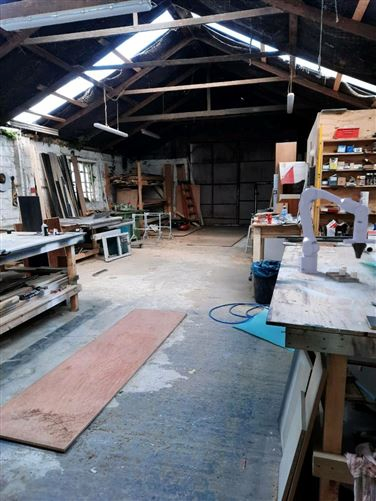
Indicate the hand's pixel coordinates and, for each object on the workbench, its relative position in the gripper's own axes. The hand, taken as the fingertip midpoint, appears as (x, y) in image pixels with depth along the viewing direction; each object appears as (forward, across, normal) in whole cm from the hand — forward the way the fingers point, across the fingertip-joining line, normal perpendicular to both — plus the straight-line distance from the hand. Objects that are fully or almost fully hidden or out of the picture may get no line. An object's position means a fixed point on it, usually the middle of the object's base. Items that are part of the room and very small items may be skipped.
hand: (358, 258), depth 156 cm
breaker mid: (+8, -7, 0) cm, 11 cm away
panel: (+10, -7, 0) cm, 12 cm away
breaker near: (+8, -4, -6) cm, 11 cm away
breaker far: (+8, -4, +6) cm, 11 cm away
